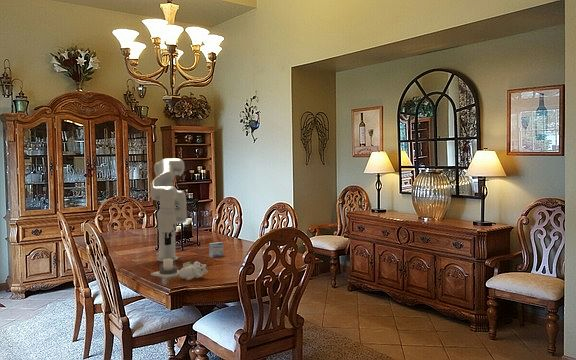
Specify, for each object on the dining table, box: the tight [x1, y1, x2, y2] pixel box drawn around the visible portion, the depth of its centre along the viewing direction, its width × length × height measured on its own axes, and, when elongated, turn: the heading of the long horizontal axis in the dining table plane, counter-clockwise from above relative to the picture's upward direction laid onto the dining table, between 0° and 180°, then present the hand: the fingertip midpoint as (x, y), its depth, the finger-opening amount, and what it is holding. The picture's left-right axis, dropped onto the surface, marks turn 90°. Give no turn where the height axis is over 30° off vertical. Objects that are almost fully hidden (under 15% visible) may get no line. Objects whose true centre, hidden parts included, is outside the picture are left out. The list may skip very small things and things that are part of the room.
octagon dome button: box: [150, 266, 181, 279], centre depth 275 cm, size 13×13×3 cm
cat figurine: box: [178, 261, 209, 282], centre depth 265 cm, size 10×8×15 cm
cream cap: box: [162, 259, 174, 271], centre depth 275 cm, size 5×5×7 cm
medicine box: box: [208, 241, 224, 259], centre depth 321 cm, size 8×4×9 cm, turn 126°
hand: (167, 244), depth 274 cm, fingers closed
